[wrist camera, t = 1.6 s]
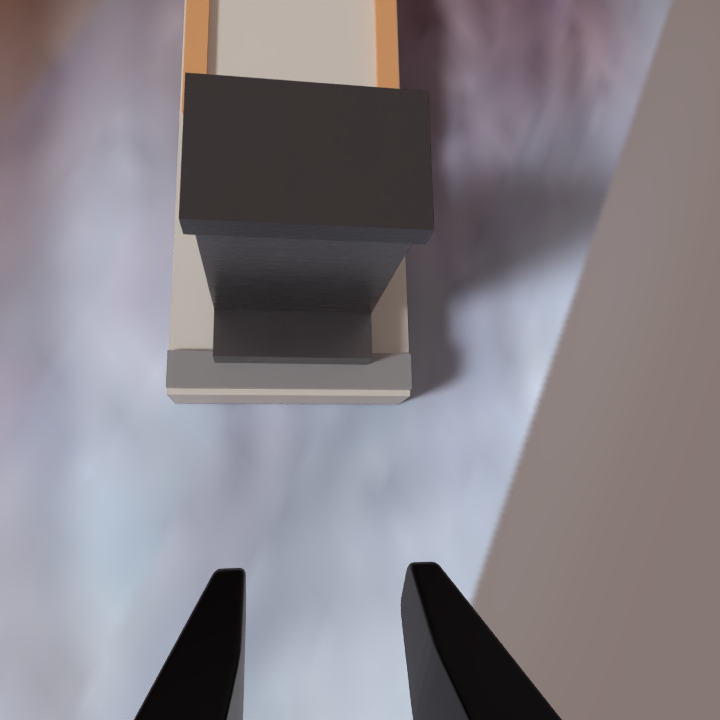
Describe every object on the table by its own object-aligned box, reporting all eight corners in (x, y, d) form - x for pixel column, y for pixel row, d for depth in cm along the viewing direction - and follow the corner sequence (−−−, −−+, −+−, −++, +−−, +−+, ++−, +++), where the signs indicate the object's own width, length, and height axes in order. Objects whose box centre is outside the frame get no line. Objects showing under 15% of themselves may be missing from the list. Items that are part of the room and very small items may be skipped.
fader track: (398, 404, 24) (412, 394, 22) (175, 403, 23) (165, 393, 21) (385, -14, 28) (396, -59, 26) (193, -33, 27) (187, -82, 24)
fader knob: (373, 364, 22) (436, 286, 14) (208, 362, 21) (176, 279, 13) (369, 199, 23) (425, 41, 15) (214, 191, 22) (187, 20, 14)
